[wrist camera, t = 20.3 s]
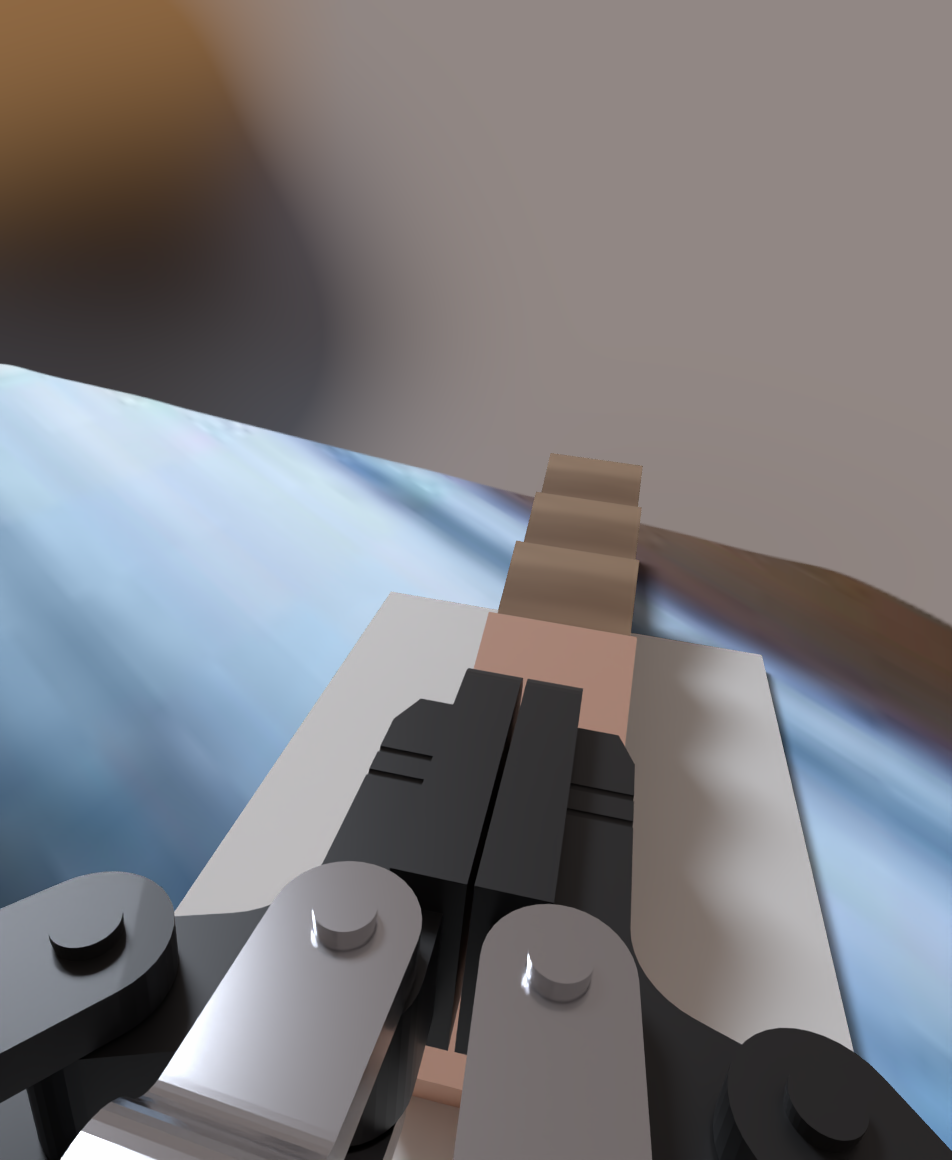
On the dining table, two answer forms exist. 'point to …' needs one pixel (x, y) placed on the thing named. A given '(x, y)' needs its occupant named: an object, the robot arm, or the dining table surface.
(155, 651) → the dining table surface
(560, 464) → the domino
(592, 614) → the domino
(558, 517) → the domino
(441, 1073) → the loose domino
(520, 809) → the robot arm
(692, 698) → the mat
